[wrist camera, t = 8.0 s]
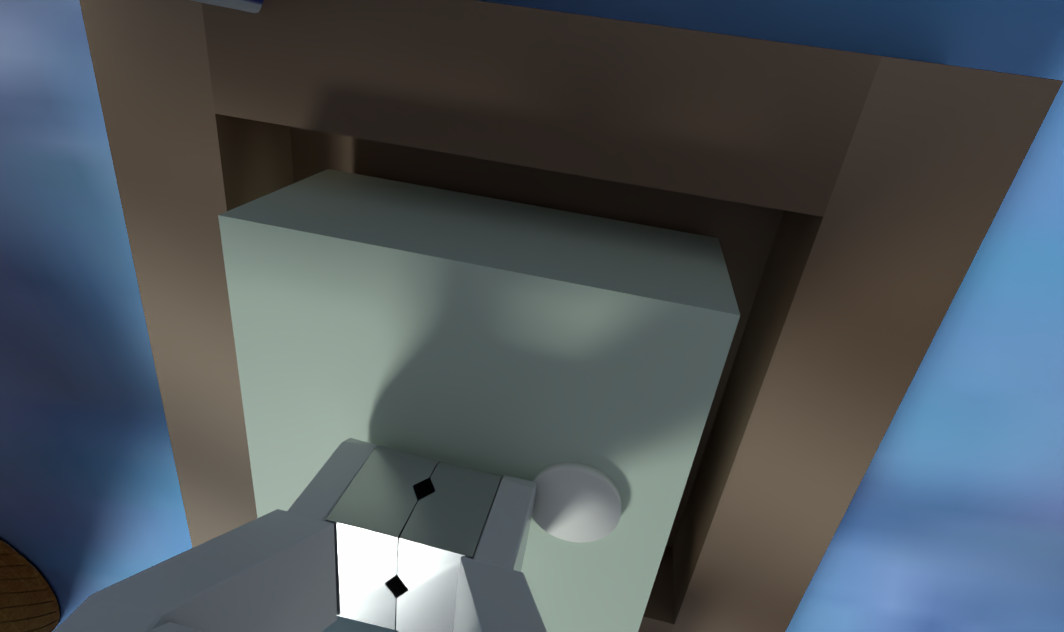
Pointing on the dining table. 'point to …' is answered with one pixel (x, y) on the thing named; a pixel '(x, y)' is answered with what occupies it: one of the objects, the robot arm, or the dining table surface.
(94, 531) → the dining table surface
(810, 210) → the key frame
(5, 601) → the disposable coffee cup
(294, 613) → the robot arm
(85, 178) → the dining table surface
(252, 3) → the medicine box
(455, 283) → the tile one
